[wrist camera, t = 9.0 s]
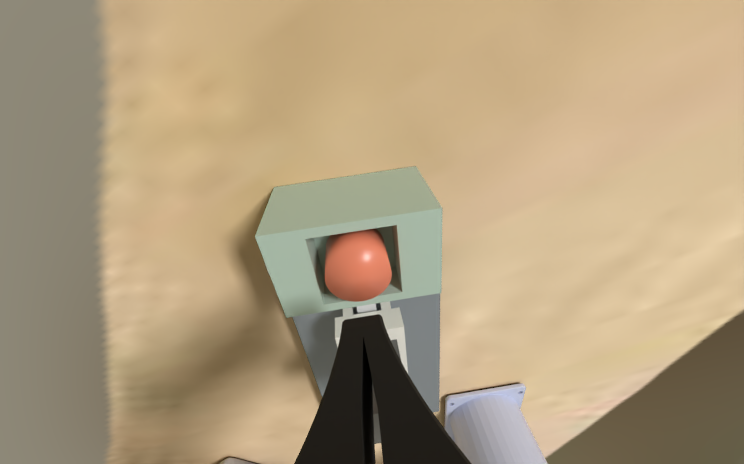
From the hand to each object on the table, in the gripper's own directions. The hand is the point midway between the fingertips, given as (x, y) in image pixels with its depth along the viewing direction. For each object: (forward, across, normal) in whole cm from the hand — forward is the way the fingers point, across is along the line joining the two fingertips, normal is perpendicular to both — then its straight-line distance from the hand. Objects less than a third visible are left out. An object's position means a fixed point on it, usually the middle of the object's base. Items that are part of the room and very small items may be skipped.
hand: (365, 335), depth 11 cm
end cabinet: (+9, 0, 0) cm, 9 cm away
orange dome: (+5, 0, 0) cm, 5 cm away
